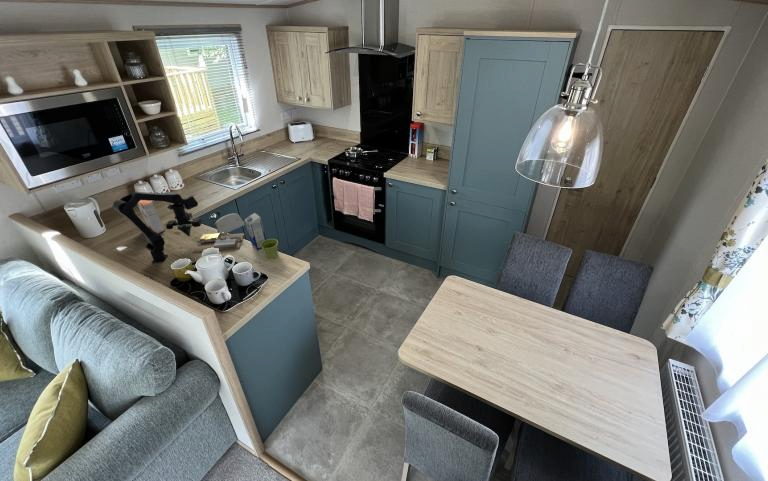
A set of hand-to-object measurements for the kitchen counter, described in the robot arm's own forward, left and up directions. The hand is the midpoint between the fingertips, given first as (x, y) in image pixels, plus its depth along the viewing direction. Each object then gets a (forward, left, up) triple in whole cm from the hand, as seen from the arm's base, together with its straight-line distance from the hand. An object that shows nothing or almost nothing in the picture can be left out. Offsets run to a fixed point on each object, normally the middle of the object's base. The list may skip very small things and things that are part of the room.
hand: (189, 235), depth 206 cm
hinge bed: (-4, -17, -5) cm, 18 cm away
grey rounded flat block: (+15, -19, -6) cm, 25 cm away
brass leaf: (0, -11, -4) cm, 12 cm away
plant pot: (-23, -51, -5) cm, 56 cm away
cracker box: (+22, +29, -5) cm, 37 cm away
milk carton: (-11, -42, -5) cm, 44 cm away
